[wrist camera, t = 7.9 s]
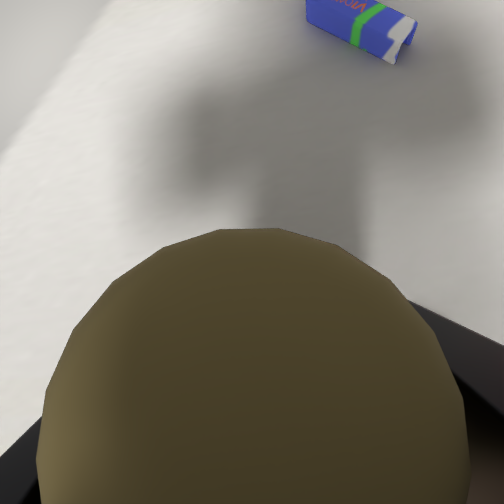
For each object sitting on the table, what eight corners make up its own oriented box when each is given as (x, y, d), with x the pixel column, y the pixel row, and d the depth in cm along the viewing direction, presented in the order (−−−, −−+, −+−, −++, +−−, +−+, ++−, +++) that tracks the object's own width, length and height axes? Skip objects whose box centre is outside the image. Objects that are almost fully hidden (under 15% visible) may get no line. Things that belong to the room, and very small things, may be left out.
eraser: (392, 69, 26) (399, 44, 24) (304, 24, 28) (305, -3, 26) (411, 45, 26) (419, 18, 24) (323, 2, 28) (325, -27, 26)
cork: (280, 564, 13) (211, 1126, 3) (151, 407, 15) (-174, 424, 5) (418, 413, 14) (731, 451, 4) (280, 280, 16) (243, 62, 6)
